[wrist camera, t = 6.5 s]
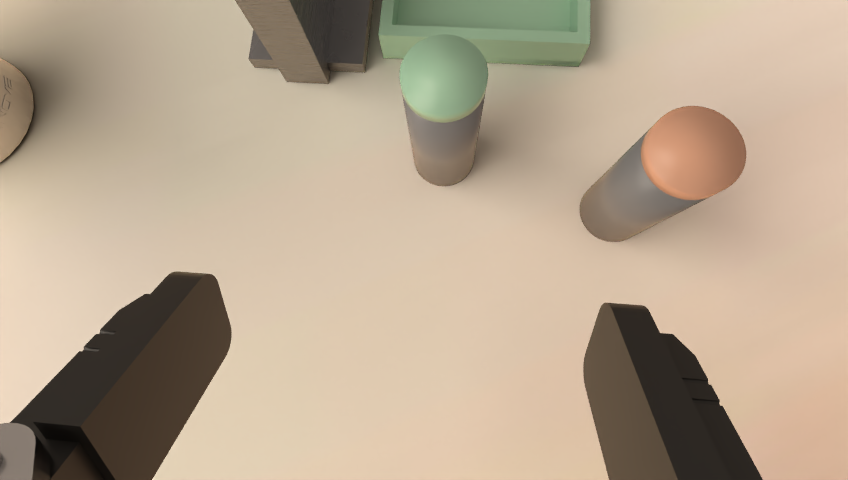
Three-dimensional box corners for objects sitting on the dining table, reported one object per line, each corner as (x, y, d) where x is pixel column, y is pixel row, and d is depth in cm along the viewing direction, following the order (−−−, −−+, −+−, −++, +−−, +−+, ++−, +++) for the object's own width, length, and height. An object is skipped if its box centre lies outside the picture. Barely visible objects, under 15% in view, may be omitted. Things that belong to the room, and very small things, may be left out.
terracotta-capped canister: (579, 239, 29) (649, 191, 19) (580, 179, 29) (648, 104, 20) (643, 243, 28) (749, 197, 18) (642, 183, 29) (743, 108, 19)
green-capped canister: (411, 184, 30) (395, 112, 20) (416, 128, 31) (403, 32, 21) (472, 187, 30) (485, 116, 20) (475, 131, 30) (490, 36, 21)
